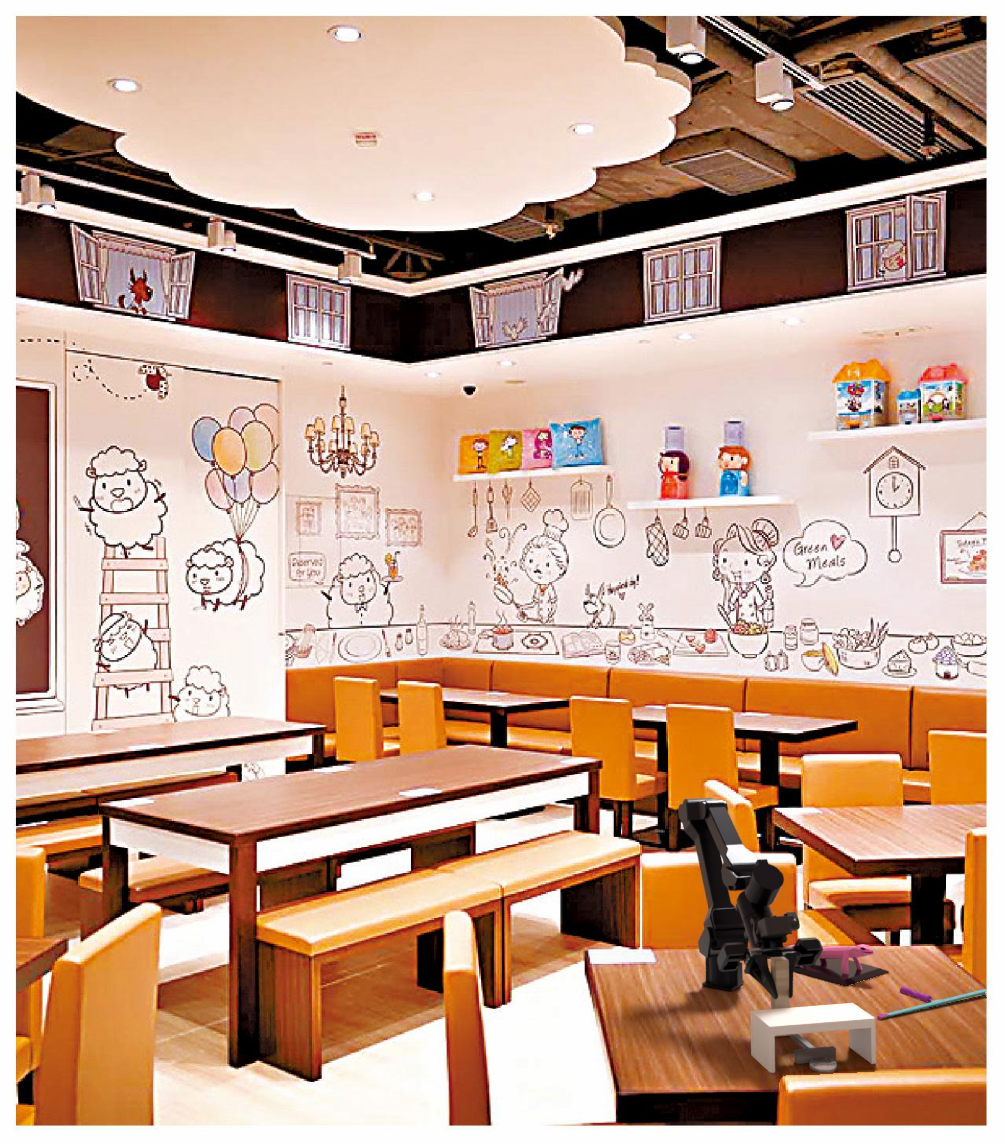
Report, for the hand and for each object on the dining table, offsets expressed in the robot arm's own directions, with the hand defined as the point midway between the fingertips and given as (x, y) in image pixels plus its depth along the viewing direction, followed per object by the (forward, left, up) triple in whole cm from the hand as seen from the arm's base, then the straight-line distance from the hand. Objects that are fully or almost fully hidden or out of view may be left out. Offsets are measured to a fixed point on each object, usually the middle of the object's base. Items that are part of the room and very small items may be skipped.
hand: (783, 997), depth 216 cm
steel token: (+11, -11, -7) cm, 17 cm away
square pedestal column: (+3, -3, -7) cm, 8 cm away
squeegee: (+14, +32, -8) cm, 36 cm away
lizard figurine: (-6, +43, -8) cm, 44 cm away
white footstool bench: (+8, -8, -7) cm, 13 cm away
